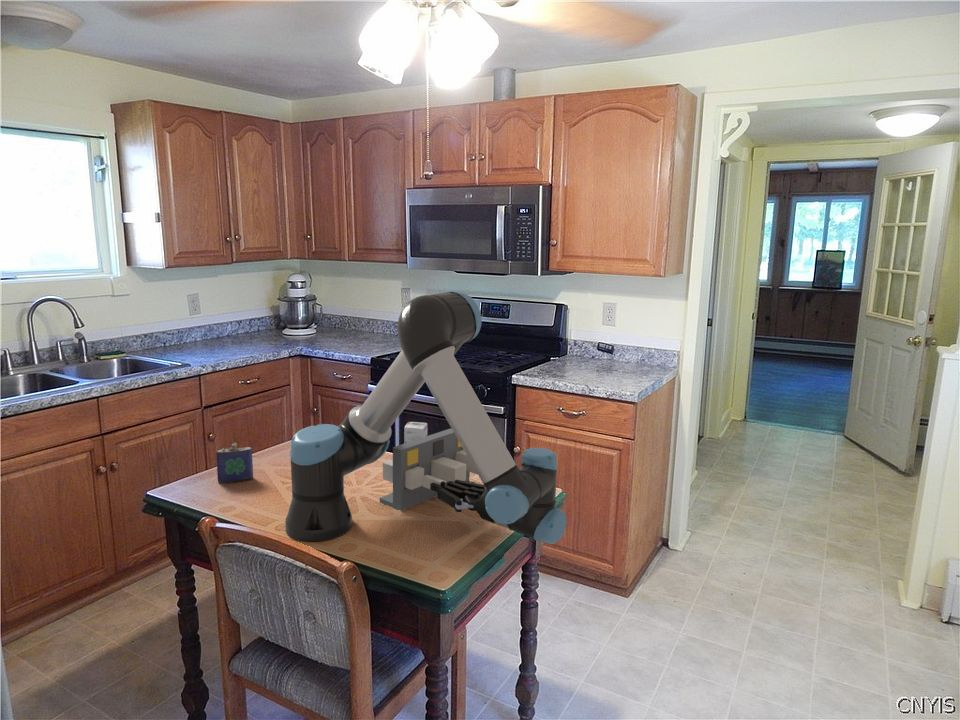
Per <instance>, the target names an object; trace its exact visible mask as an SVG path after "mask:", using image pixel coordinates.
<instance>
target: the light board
mask: <svg viewBox="0 0 960 720" xmlns="http://www.w3.org/2000/svg"><path fill="white" fill-rule="evenodd" d="M462 448H463V447H462V445H461V444H460V442H459V440H458V438H457V437H456V435H455V433H454V431H453V430H452V428H451V427H450V428H448V429H444V430H441V431H439V432H436V433H432V434H429V435H427V436H426V437H423V438H420V439H417V440H414V441H411V442H408V443H405V444H404V443H403V444H402V443H401V444H398V445H396V446H393V447H392V459H393V483H392V492H391V493H388V494H385V495H383V496H380V497H378V498H379V503H381V504H383V505H385V504H386V505H385V506H387V505H388V506H387V507H390V508H393V509H395V510H397V511H400V512H403V511H406V510H408V509H409V508H412V507H414V506H416V504H417V505H419V504H421V503H424V502H426V501H428V500H430V499H433V498H435V497H437V492H436V491H433V490H431V489H428V488H425V487H423V486H420V487H418V488H415V489H413V490H410V489H408V488H405V487H404V470H405V469H408V468H411V467H413V466H419V467H422V468H424V476H425V475H429V476H431V460H432V459H435V458H438V457H440V456H442V457H446V458H449V459H452V460H455V451H457V450H459V449H462ZM470 473H471V472H468V471H466V482H470V478H471V477H470V475H471V474H470ZM432 497H433V498H432ZM425 500H426V501H425ZM418 503H419V504H418Z"/></svg>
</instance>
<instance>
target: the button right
mask: <svg viewBox="0 0 960 720" xmlns="http://www.w3.org/2000/svg"><path fill="white" fill-rule="evenodd" d="M455 461H458V462H461V463H464V464H466V471H468V472H470V473H472V474H475V475H477V476H479V475H478V473H477V472H476V470H475V468H474V466H473V465H472V463H471V461H470V459H469V458H468V456H467V454H466V452H465V451H464V449H463V448H462V449H459V450H457V451H455Z"/></svg>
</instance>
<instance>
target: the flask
mask: <svg viewBox="0 0 960 720" xmlns="http://www.w3.org/2000/svg"><path fill="white" fill-rule="evenodd" d="M237 445H238V443H235V442H233V443H232V444H231V446H230V447H229V448H228V447H227V448H224V447H223V448H222V449H219V450H217V451H216V454H215V456H216V469H217V470H216V471H217V472H216V473H217V481H218V484H234V483H239V482H241V483H242V482H247V481H250V480H253V478H254V465H253V462H254V461H253V448H252V447H250V446H247V447H240V448H238V447H237Z"/></svg>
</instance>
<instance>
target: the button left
mask: <svg viewBox="0 0 960 720" xmlns="http://www.w3.org/2000/svg"><path fill="white" fill-rule="evenodd" d="M423 476H424V468H422V467H419V466H413V467H411V468H408V469H405V470H404V487H405V488H408V489H410V490H413V489H415V488H418V487H420V486H423ZM382 479H383V480H384V481H387V482H389V483H391V484H393V458H392V459H390V460H386V461H384V462H382Z"/></svg>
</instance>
